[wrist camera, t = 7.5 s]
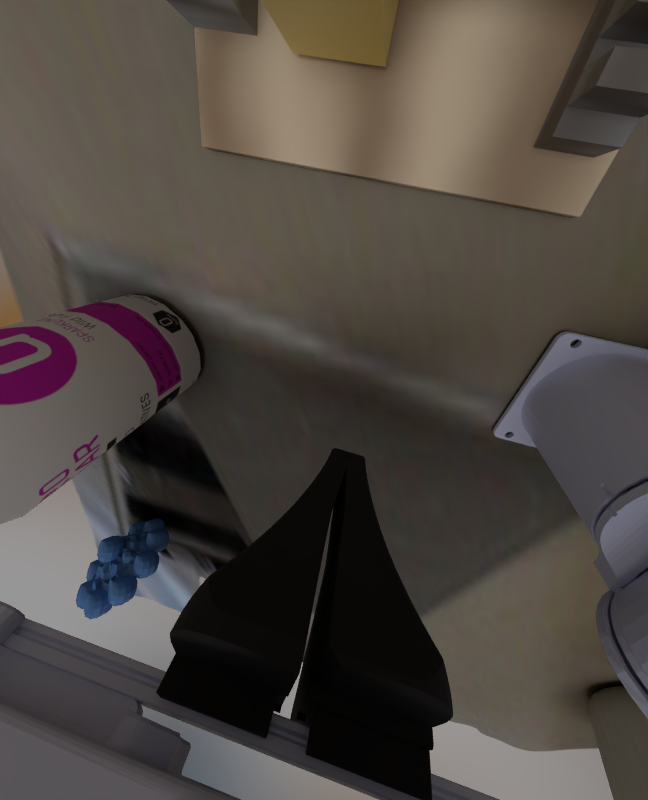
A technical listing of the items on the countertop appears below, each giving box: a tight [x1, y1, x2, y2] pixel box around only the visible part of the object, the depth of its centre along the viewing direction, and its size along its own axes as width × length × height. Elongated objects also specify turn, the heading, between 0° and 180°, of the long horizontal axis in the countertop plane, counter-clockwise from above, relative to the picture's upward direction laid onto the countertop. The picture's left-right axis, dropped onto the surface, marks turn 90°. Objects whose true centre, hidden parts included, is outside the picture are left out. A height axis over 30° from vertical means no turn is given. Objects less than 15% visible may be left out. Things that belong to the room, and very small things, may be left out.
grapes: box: [76, 518, 169, 619], centre depth 34 cm, size 12×7×12 cm, turn 115°
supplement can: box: [0, 294, 201, 524], centre depth 17 cm, size 8×8×15 cm
